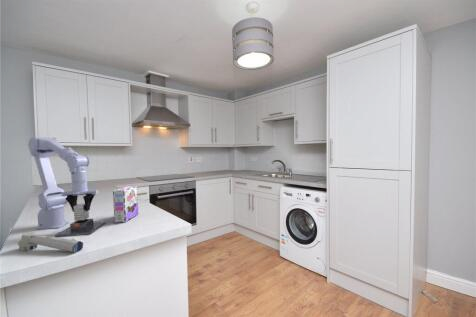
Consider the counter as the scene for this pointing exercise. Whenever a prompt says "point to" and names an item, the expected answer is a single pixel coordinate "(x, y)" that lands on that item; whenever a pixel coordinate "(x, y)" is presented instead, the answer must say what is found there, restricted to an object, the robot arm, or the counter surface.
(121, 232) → the counter surface
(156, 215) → the counter surface
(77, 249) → the grey elongated piece
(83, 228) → the stand
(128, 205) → the candy box
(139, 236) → the counter surface
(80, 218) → the column
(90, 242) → the counter surface
